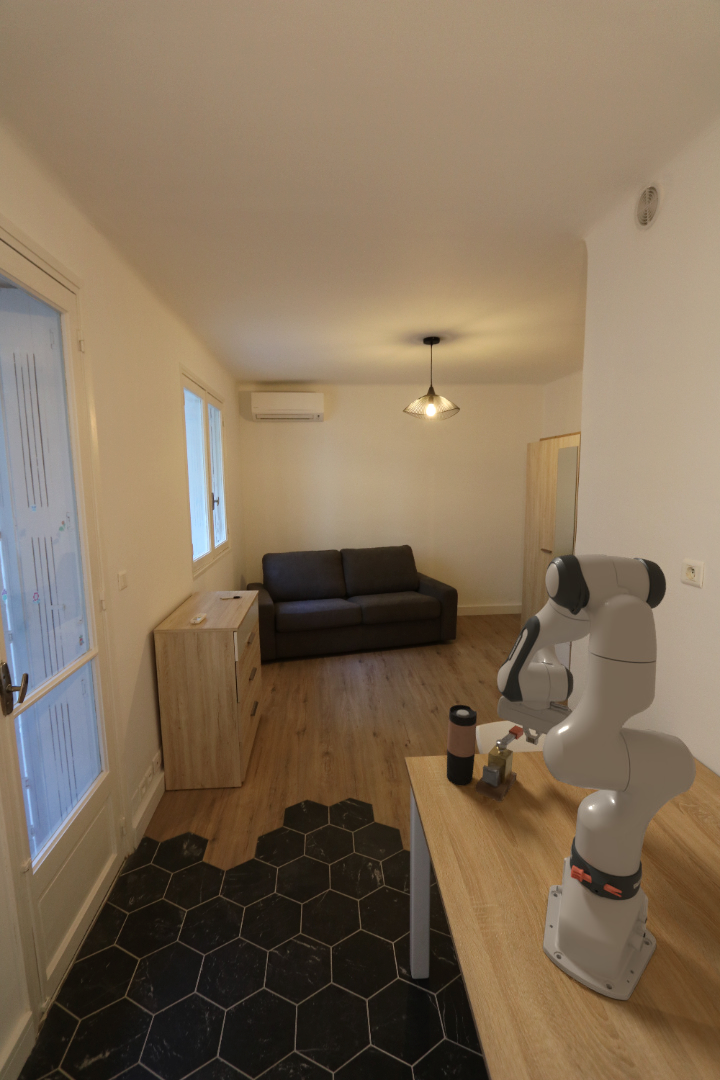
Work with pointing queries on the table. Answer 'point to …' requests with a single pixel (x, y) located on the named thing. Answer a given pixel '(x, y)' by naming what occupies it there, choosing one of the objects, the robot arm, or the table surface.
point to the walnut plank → (493, 791)
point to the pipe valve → (498, 767)
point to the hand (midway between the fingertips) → (531, 742)
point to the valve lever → (509, 737)
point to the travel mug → (461, 744)
